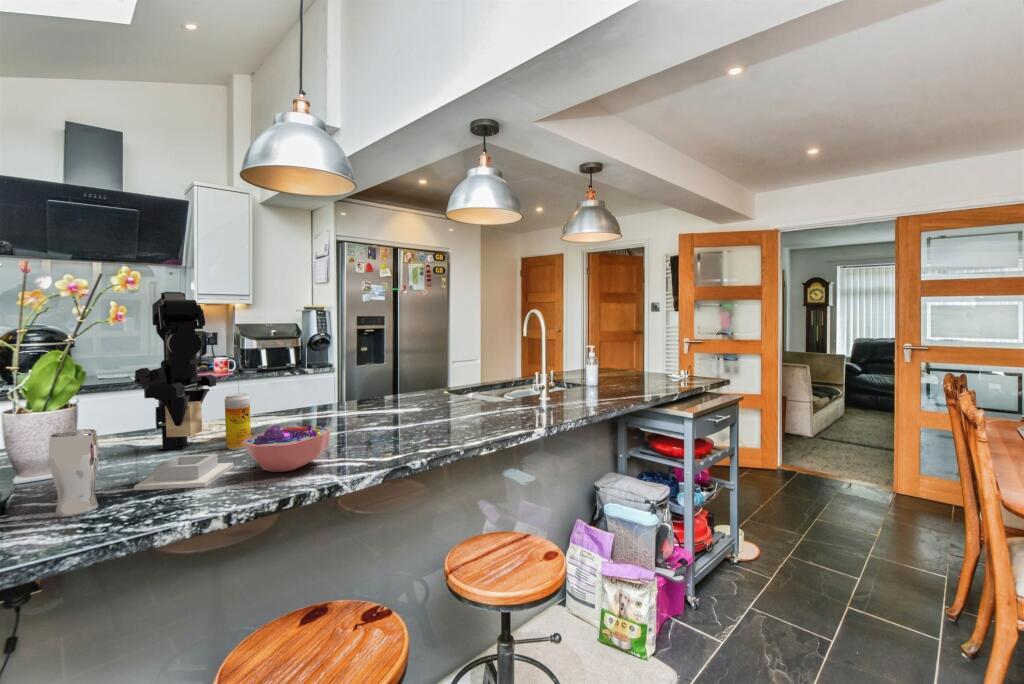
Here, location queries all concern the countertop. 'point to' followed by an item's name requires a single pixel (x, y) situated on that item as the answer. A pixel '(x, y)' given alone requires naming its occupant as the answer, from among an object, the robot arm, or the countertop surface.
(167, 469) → the socket plate
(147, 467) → the countertop surface
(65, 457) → the beer glass
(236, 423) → the beer can
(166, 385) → the robot arm
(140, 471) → the countertop surface
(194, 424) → the tan block
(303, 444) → the cell model
